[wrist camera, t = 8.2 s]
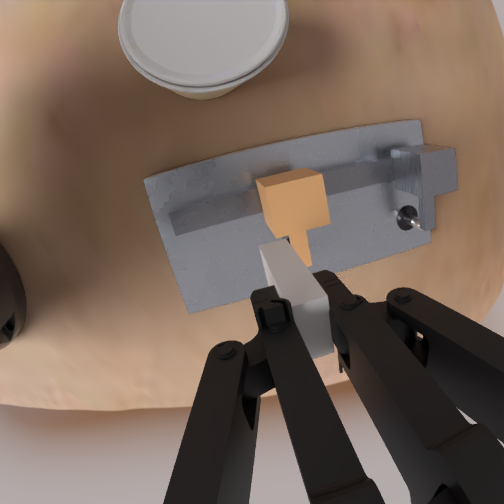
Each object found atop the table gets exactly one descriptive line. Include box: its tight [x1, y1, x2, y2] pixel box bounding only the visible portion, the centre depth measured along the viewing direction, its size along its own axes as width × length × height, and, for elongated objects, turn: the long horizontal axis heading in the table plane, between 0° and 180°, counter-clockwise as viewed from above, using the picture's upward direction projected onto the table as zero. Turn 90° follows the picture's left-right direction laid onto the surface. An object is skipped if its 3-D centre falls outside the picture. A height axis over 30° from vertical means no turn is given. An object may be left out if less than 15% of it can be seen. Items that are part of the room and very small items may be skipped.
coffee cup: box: [118, 0, 289, 100], centre depth 18 cm, size 9×9×12 cm
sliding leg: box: [256, 168, 331, 267], centre depth 25 cm, size 4×8×6 cm, turn 14°
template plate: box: [143, 119, 458, 314], centre depth 26 cm, size 26×13×8 cm, turn 104°
